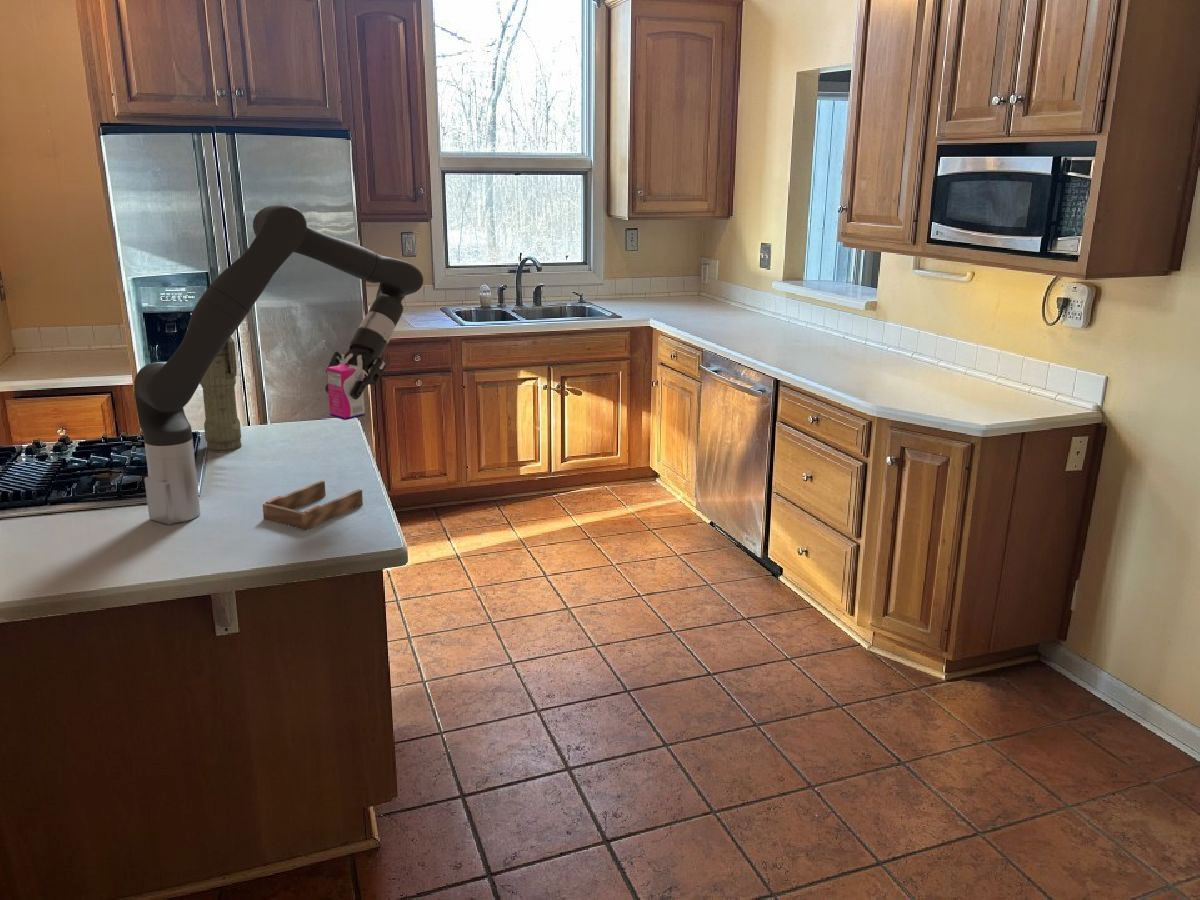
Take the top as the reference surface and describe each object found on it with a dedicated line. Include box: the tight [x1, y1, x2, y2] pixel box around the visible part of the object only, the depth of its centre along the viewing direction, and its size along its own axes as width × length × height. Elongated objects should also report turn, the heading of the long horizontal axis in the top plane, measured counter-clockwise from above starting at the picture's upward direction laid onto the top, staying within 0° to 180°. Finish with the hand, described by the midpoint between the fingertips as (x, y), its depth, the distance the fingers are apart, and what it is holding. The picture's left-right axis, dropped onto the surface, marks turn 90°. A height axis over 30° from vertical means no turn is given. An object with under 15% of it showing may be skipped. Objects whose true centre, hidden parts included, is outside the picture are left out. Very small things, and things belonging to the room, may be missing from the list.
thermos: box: [199, 336, 242, 453], centre depth 236 cm, size 9×12×35 cm
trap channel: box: [262, 480, 364, 531], centre depth 199 cm, size 18×12×4 cm, turn 154°
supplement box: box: [326, 364, 366, 421], centre depth 204 cm, size 6×6×12 cm
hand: (341, 395), depth 203 cm, fingers closed on supplement box, 6 cm apart
